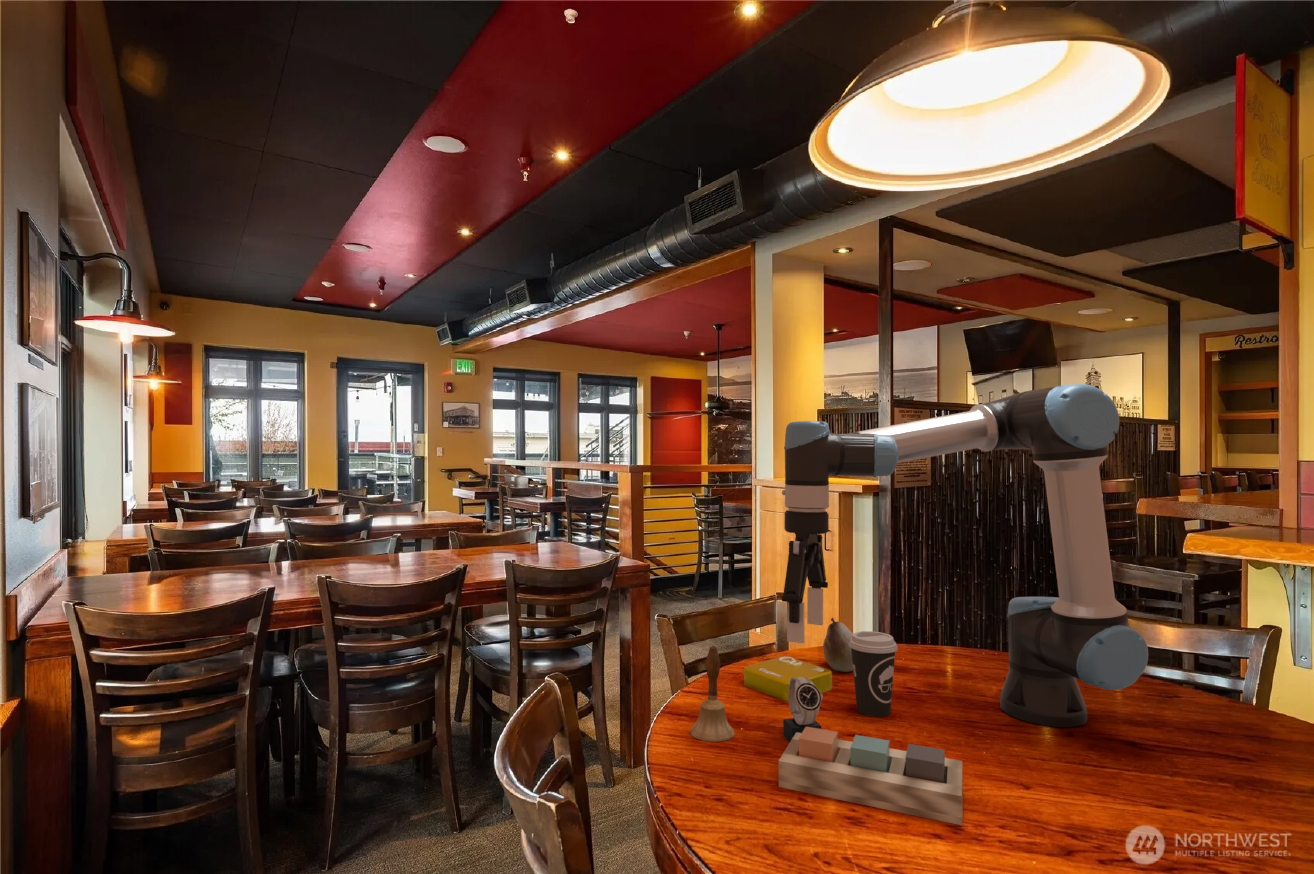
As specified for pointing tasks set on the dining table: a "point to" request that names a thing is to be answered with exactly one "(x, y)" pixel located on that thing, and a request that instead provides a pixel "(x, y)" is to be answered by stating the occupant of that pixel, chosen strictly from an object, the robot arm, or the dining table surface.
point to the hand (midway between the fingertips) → (805, 632)
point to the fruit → (838, 647)
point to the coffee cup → (873, 671)
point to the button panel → (875, 783)
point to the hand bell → (712, 707)
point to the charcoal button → (925, 763)
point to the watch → (802, 707)
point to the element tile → (784, 676)
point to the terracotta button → (818, 744)
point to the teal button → (870, 753)
